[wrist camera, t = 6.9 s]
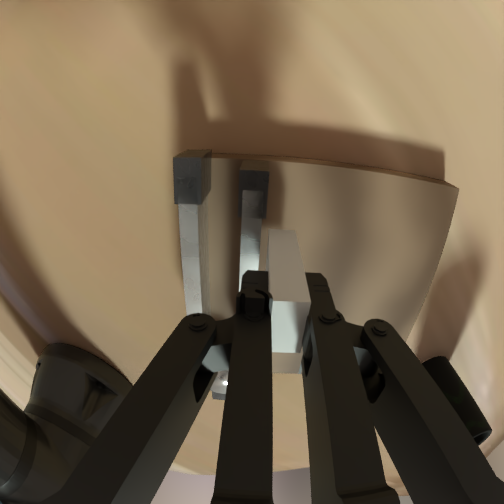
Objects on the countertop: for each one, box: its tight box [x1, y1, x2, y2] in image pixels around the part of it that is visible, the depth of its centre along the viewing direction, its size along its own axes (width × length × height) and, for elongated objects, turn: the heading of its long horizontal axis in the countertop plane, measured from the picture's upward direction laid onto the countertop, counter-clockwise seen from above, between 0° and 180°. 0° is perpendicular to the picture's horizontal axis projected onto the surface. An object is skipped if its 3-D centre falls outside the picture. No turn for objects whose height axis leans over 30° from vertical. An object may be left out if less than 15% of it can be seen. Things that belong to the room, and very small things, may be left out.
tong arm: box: [238, 160, 269, 292], centre depth 17 cm, size 1×13×3 cm, turn 177°
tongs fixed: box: [173, 150, 229, 400], centre depth 19 cm, size 4×20×3 cm, turn 177°
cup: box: [422, 356, 492, 446], centre depth 22 cm, size 8×8×12 cm
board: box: [208, 153, 459, 374], centre depth 21 cm, size 18×18×2 cm
